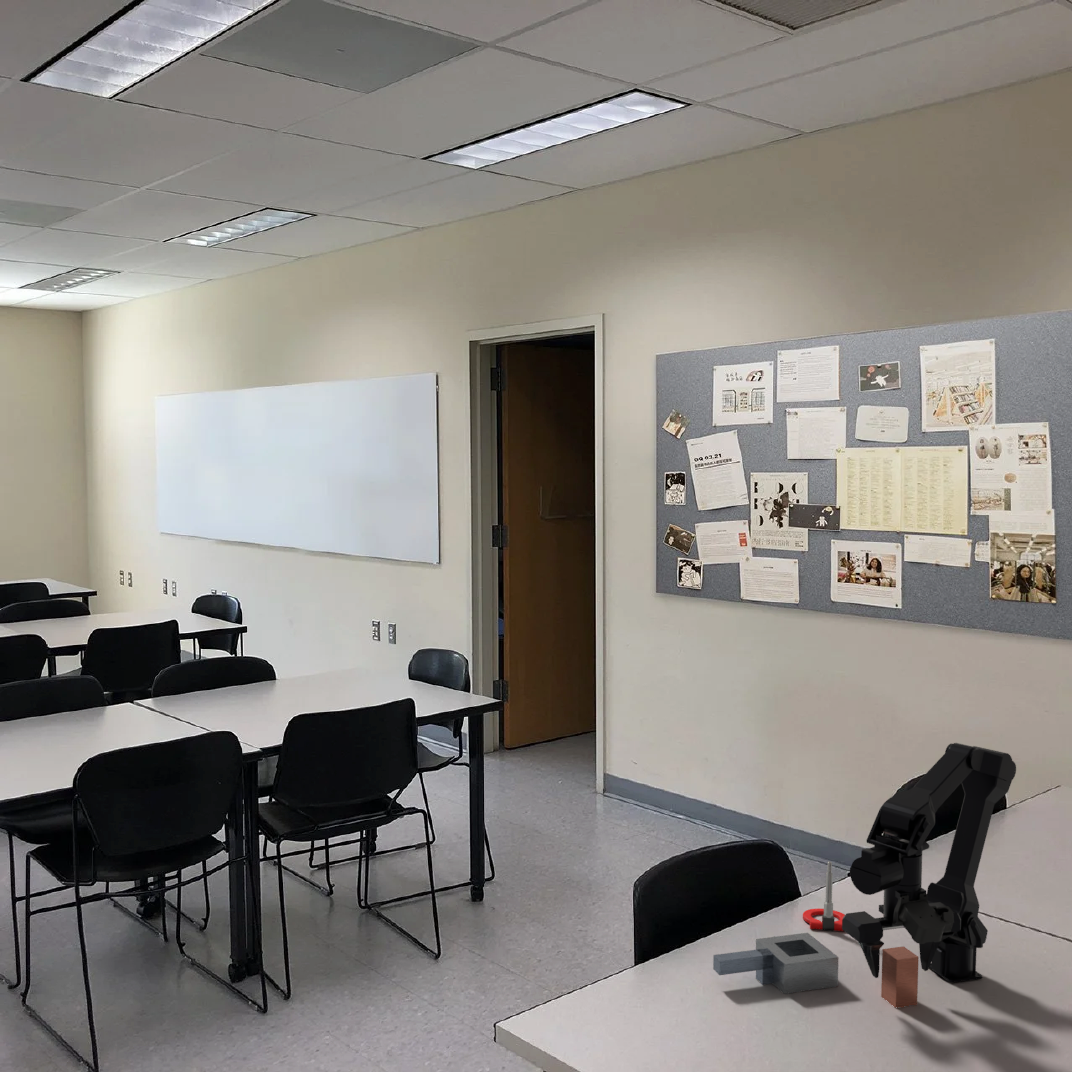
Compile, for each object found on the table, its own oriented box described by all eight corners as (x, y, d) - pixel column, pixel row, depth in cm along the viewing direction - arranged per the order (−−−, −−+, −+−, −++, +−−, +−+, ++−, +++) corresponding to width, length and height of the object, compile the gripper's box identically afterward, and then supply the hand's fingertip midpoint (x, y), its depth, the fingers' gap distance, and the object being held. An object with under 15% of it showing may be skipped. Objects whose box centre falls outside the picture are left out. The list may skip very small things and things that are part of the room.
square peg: (902, 993, 182) (903, 946, 181) (917, 1005, 178) (918, 956, 177) (881, 996, 181) (882, 949, 180) (895, 1008, 177) (896, 959, 176)
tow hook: (800, 912, 216) (805, 930, 206) (802, 847, 215) (807, 861, 206) (845, 916, 214) (851, 933, 205) (847, 850, 214) (853, 864, 205)
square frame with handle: (807, 960, 194) (807, 932, 193) (837, 986, 184) (838, 957, 184) (703, 973, 188) (703, 945, 188) (729, 1001, 179) (729, 971, 178)
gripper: (880, 904, 168) (878, 1004, 169) (985, 892, 173) (981, 989, 174) (841, 878, 178) (839, 972, 179) (940, 867, 184) (937, 958, 185)
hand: (900, 973), depth 179 cm, fingers open, 9 cm apart
